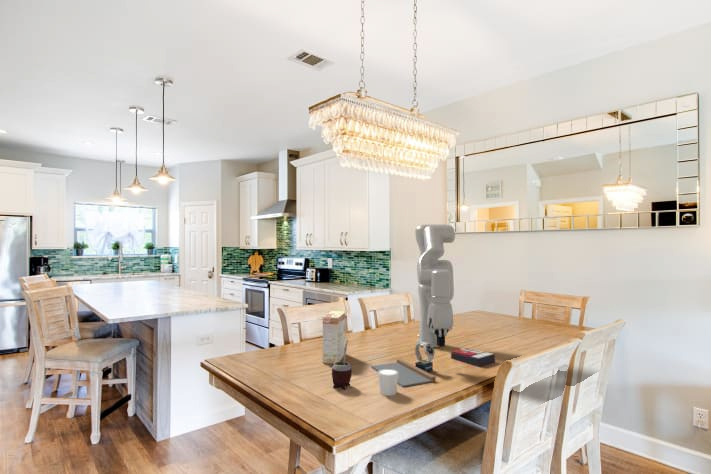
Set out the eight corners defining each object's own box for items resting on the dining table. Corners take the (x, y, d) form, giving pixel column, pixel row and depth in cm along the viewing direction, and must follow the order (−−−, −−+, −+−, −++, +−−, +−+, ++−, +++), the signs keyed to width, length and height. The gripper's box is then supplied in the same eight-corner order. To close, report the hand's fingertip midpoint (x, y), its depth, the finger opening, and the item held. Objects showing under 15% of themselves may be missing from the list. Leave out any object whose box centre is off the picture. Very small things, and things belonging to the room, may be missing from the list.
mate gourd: (335, 391, 132) (336, 347, 133) (328, 383, 140) (328, 341, 140) (355, 388, 135) (356, 345, 136) (347, 381, 143) (347, 340, 143)
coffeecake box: (331, 353, 179) (331, 310, 179) (346, 354, 177) (346, 311, 178) (321, 363, 164) (321, 316, 164) (338, 364, 163) (338, 317, 163)
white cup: (400, 390, 134) (400, 369, 134) (395, 397, 127) (395, 376, 127) (381, 387, 136) (381, 367, 136) (375, 395, 130) (375, 373, 130)
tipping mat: (371, 367, 158) (371, 363, 158) (400, 363, 164) (400, 358, 164) (402, 387, 137) (402, 382, 137) (435, 381, 142) (435, 376, 142)
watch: (428, 374, 150) (428, 346, 150) (411, 369, 156) (411, 342, 156) (436, 371, 154) (436, 343, 154) (420, 366, 160) (420, 339, 160)
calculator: (466, 347, 178) (495, 352, 166) (466, 356, 178) (495, 363, 166) (450, 350, 172) (479, 357, 160) (450, 360, 171) (479, 367, 159)
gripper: (449, 298, 165) (449, 342, 165) (420, 300, 159) (420, 345, 158) (461, 300, 158) (461, 346, 158) (431, 302, 152) (431, 350, 151)
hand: (440, 345), depth 158 cm, fingers closed
